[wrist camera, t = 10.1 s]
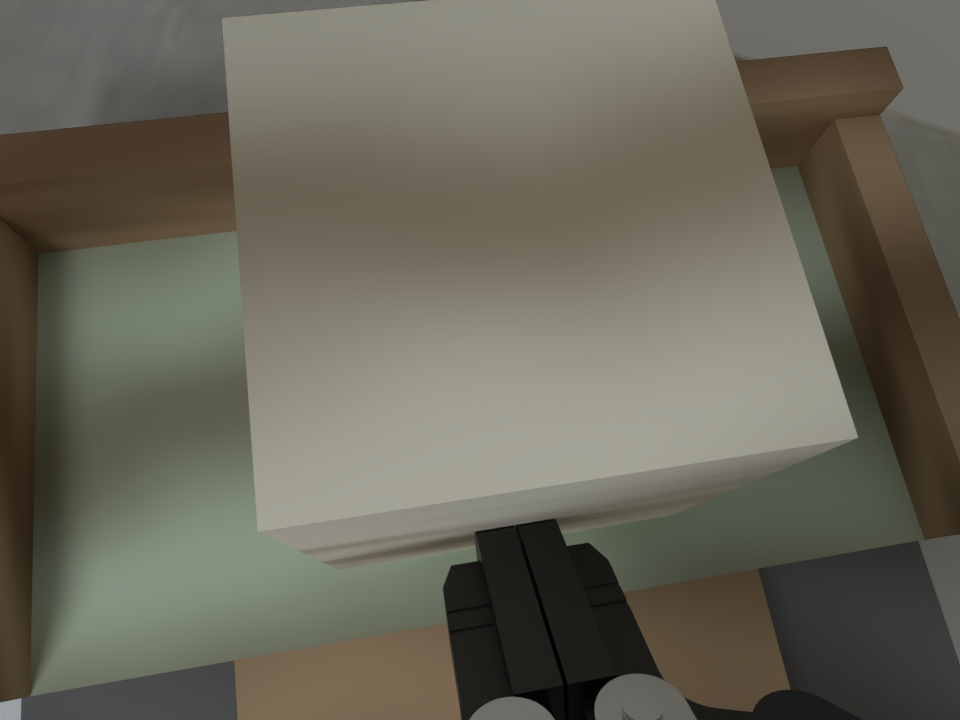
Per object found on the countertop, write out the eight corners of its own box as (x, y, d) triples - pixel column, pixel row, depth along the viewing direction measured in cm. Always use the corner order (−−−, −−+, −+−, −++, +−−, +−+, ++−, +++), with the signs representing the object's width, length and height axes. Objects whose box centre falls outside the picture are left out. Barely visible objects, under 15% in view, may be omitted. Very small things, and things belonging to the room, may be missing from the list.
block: (670, 516, 17) (858, 437, 10) (339, 570, 16) (257, 532, 9) (601, 225, 19) (707, -24, 12) (308, 260, 19) (221, 18, 11)
